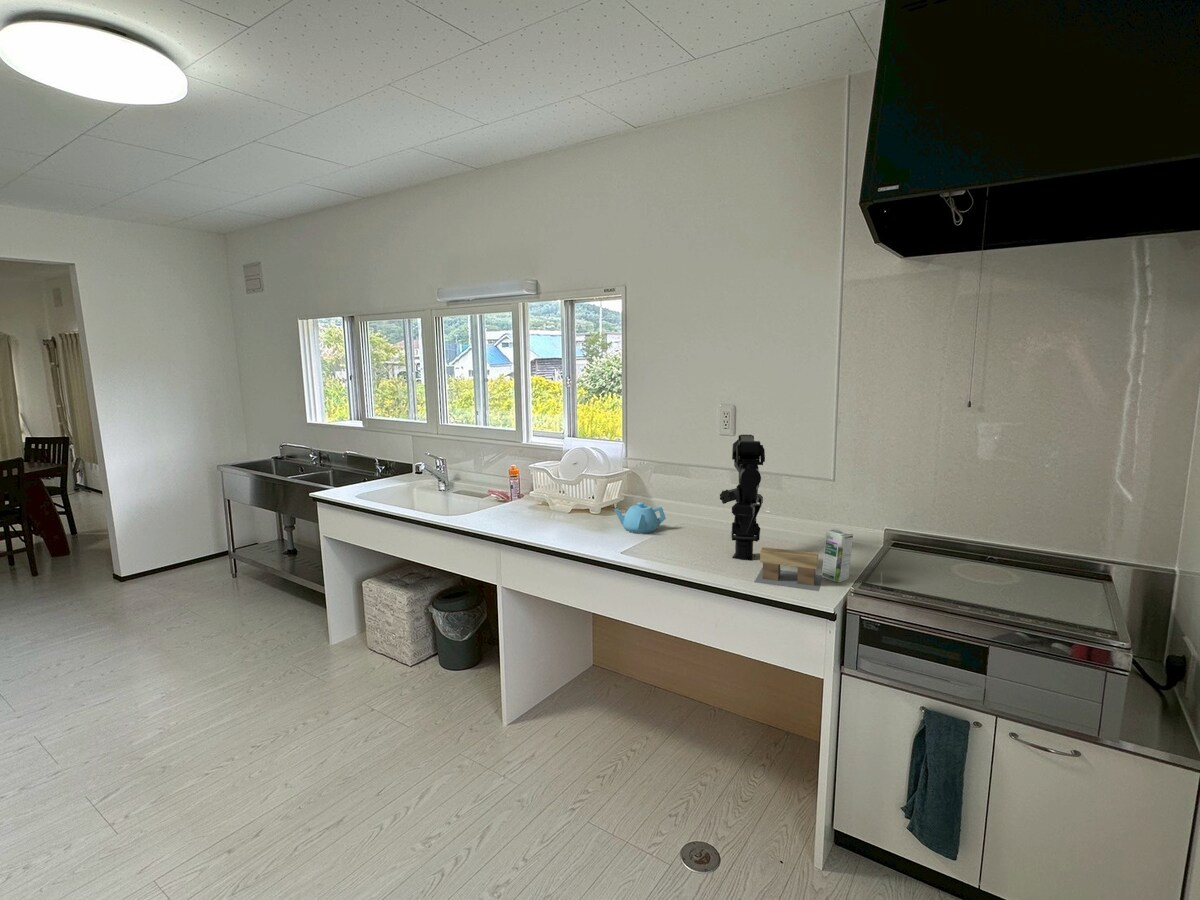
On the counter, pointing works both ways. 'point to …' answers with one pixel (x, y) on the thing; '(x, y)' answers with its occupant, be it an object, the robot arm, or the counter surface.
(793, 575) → the mat
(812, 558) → the plank
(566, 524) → the counter surface
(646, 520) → the teapot
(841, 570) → the syrup box
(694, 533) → the counter surface
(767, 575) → the block
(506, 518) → the counter surface
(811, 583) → the block
